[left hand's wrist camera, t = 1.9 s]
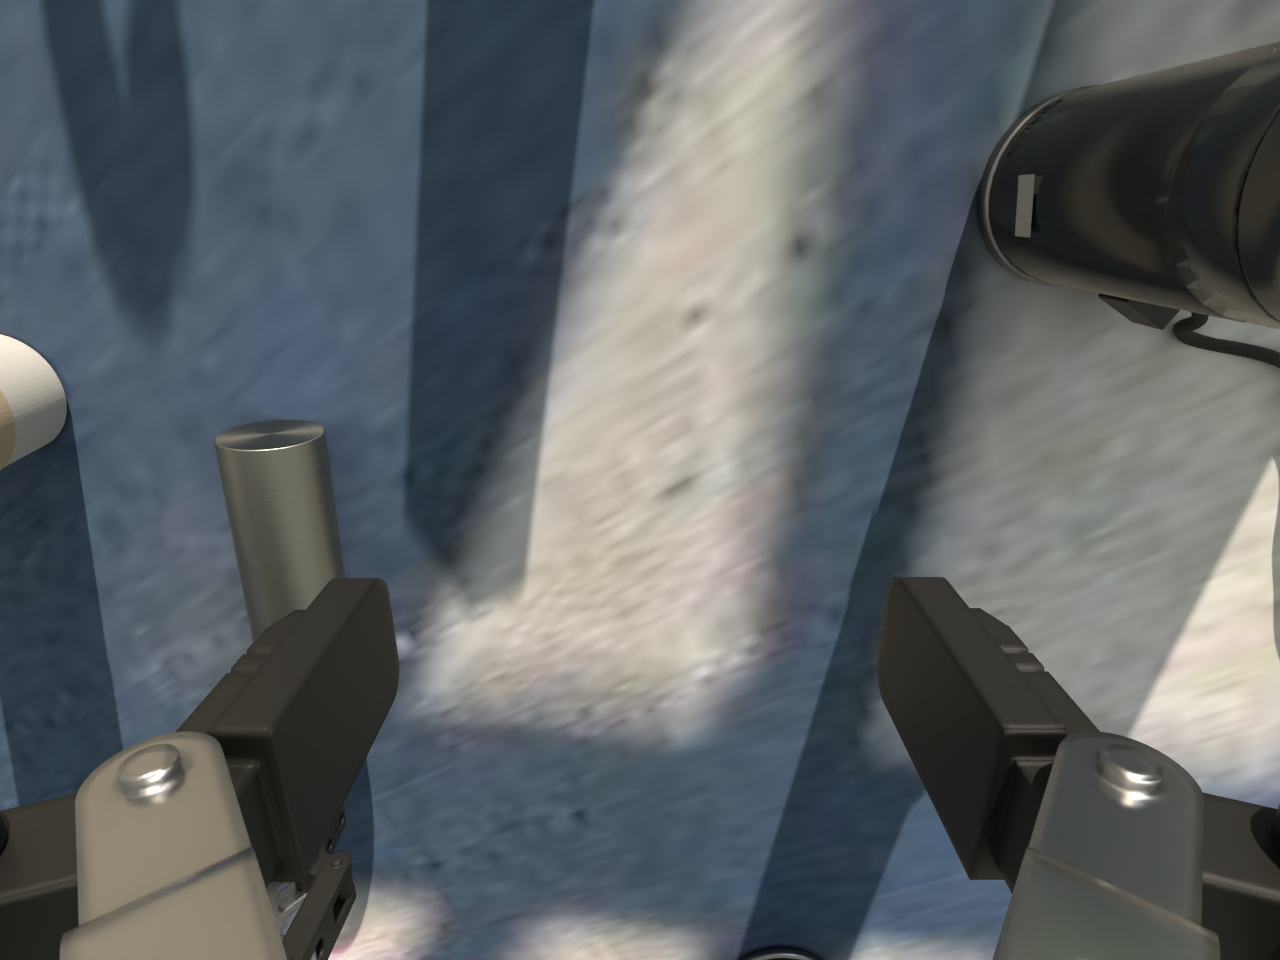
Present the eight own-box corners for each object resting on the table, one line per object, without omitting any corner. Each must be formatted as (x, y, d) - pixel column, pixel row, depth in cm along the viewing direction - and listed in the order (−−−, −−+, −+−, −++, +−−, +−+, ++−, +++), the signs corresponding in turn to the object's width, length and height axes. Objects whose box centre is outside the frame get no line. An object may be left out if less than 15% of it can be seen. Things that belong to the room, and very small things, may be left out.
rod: (245, 418, 42) (191, 448, 36) (340, 421, 42) (299, 451, 37) (299, 725, 50) (261, 785, 45) (378, 727, 50) (349, 787, 45)
